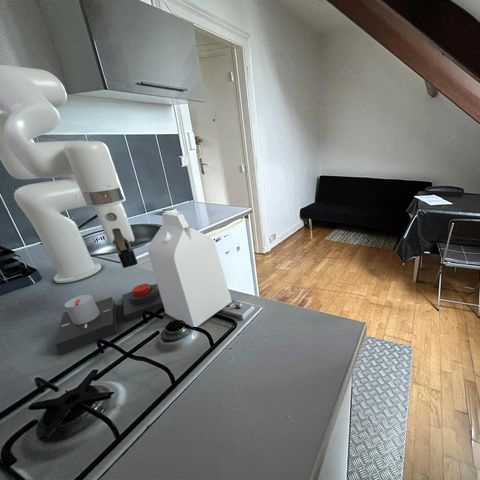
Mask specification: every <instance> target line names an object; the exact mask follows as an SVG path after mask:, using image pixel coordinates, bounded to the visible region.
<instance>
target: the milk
mask: <svg viewBox="0 0 480 480" xmlns="http://www.w3.org/2000/svg"><path fill="white" fill-rule="evenodd" d="M161 215H162V216H161V217H162V225H161V226H160V228H159V229H158V231H156V233H155V235H154V236H153V238H152V240H151V241H150V243H149V245H148V247H147V253H148V257H149V261H150V264H151V267H152V270H153V274H154V278H155V282H156V284H157V285H158V288H159V292H160V295H161V299H162V302H163V305H164V307H163V308H164V313H165V314H166V315H168V316H170V317H172V318H174V319H176V320H178V321H180V320H182V321H184V322H185V323H184V322H183V323H184V324H186V325H187V326H189V327H191V328H193V327H196V328H197V327H199V326H200V325H201V324H203V323H205V322H206V321H207V320H208V319H210V318H211V317H213V316H214V315H215V314H216V313H218V312H220V311H221V310H222V309H224V308H225V307H227V306H228V305H229V304H231V303H233V300H232V296H231V294H230V290H229V286H228V284H227V280H226V277H225V274H224V270H223V267H222V264H221V259H220V257H219V253H218V249H217V247H216V243H215V241H214V240H213V239H212V238H211V237H210V236H208V235H206V234H204V233H203V232H200V231H199V230H196V229H195V228H193V227H190V225H189V223H188V221H187V219H186V217H185V216H184V214H182V213H178V212H177V213H176V212H172V211H166V212H163V213H162V214H161ZM182 321H181V322H182Z"/></svg>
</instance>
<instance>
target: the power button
mask: <svg viewBox="0 0 480 480" xmlns="http://www.w3.org/2000/svg"><path fill="white" fill-rule="evenodd" d="M150 285H151V284H150V283H142V284H139V285H137V286H134V287H133V288H132V291H133V293H134V296H135V297H139V296H143V295H146V294H148V293H150V292H151V288H150Z"/></svg>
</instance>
